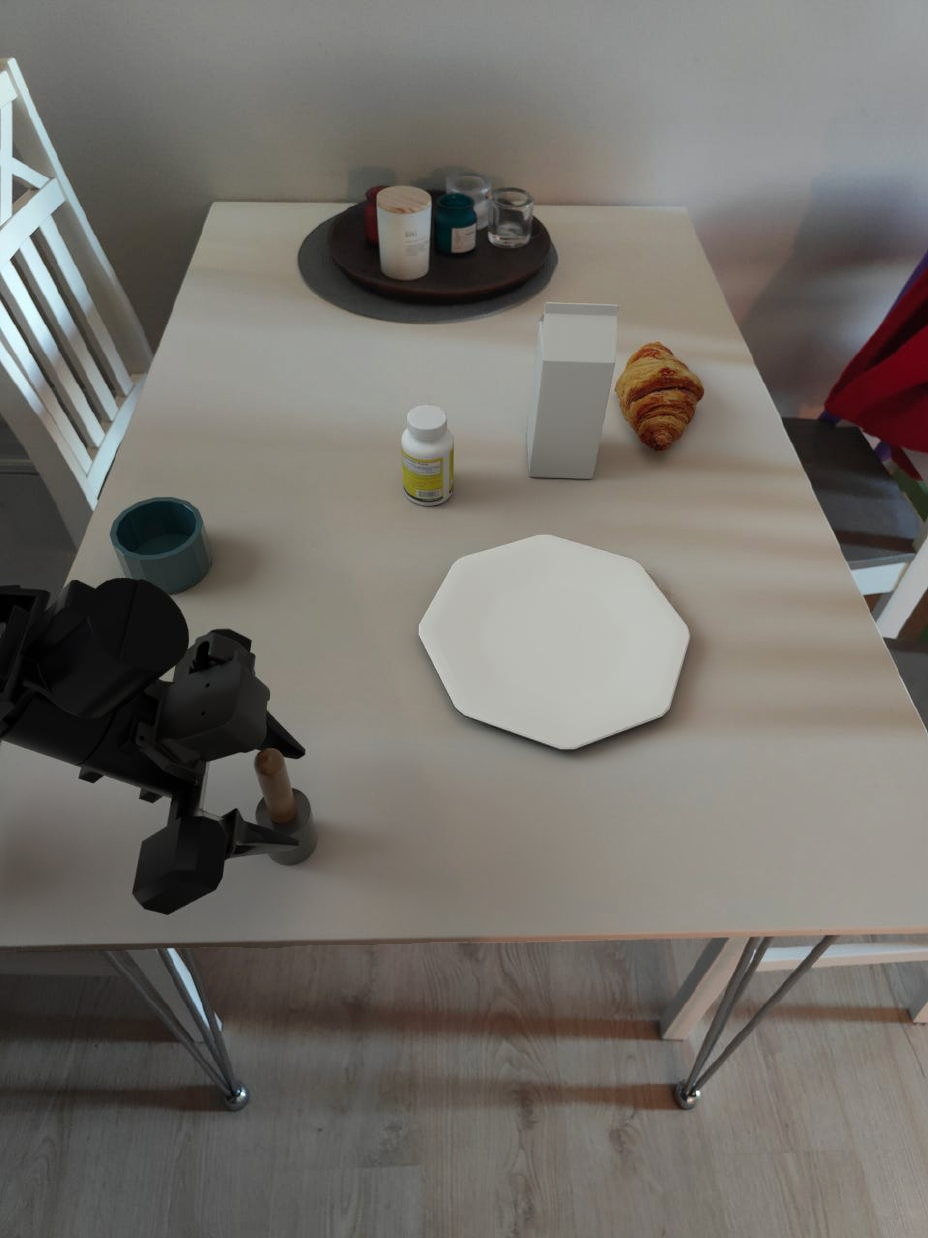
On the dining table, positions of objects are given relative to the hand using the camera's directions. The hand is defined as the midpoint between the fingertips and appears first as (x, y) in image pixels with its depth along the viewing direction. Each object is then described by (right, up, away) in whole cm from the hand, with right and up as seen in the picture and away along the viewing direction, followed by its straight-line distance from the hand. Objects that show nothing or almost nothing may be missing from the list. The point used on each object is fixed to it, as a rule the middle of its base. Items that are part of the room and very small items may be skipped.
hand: (299, 798), depth 61 cm
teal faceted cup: (-17, +18, +23) cm, 34 cm away
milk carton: (+23, +31, +36) cm, 52 cm away
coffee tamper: (-2, -4, +5) cm, 7 cm away
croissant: (+35, +38, +42) cm, 67 cm away
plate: (+20, +11, +19) cm, 30 cm away
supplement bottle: (+8, +27, +31) cm, 42 cm away
